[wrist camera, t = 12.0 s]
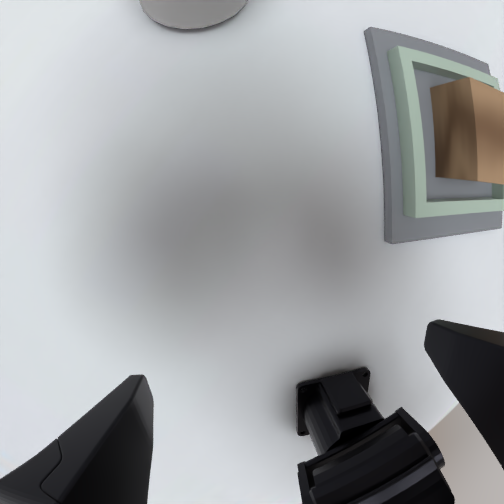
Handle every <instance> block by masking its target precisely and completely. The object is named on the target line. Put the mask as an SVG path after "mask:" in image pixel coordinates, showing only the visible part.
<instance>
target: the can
mask: <svg viewBox="0 0 504 504" xmlns="http://www.w3.org/2000/svg"><path fill="white" fill-rule="evenodd" d="M139 1H140V4H141V6H142V9H143V11H144V12H145V13H146V14H147V15H148V16H149V17H150V18H151V19H152V20H154V21H156V22H158V23H160V24H162V25H165V26H167V27H174V28H180V29H193V28H204V27H208V26H211V25H215V24H218V23H221V22H223V21H225V20H227V19H228V18H230V17H232V16H234V15H236V14H237V13H238V12H239V11H240V10H241V9H242V8H243V7H244V6H245V5H246V3H247V0H139Z"/></svg>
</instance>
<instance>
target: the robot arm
mask: <svg viewBox="0 0 504 504" xmlns="http://www.w3.org/2000/svg"><path fill="white" fill-rule="evenodd" d="M424 347H425V350H426V352H427V354H428V355H429V357H430V358H431V360H432V362H433V363H434V365H435V367H436V368H437V370H438V372H439V374H440V375H441V377H442V379H443V380H444V382H445V383H446V385H447V386H448V387H449V389H450V390H451V392H452V393H453V394H454V396H455V397H456V398H457V400H458V401H459V403H460V404H461V405H462V407H463V408H464V409H465V411H466V413H467V414H468V415H469V417H470V418H471V420H472V421H473V423H474V424H475V426H476V427H477V429H478V430H479V432H480V433H481V434H482V436H483V437H484V439H485V440H486V442H487V444H488V445H489V447H490V448H491V450H492V451H493V453H494V454H495V456H496V458H497V459H498V461H499V463H500V464H501V465H502V468H503V470H504V332H499V331H494V330H489V329H484V328H479V327H474V326H469V325H464V324H459V323H454V322H449V321H444V320H435V321H432V322H430V323H429V324H428V326H427V331H426V336H425V341H424ZM364 373H365V374H364ZM369 379H370V371H369V369H368V368H361V369H358V370H354V371H350V372H346V373H342V374H338V375H334V376H330V377H326V378H321V379H317V380H312V381H308V382H303V383H300V384H298V386H297V387H296V406H297V433H298V435H299V436H305V435H309V434H310V436H311V439H312V441H313V444H314V446H315V448H316V451H317V453H318V456H317V457H315V458H313V459H311V460H308V461H306V462H301V463H299V464H297V465H298V471H299V472H298V479H299V485H300V491H301V497H302V503H303V504H454V501H455V499H454V496H453V494H452V492H451V489H450V487H449V485H448V484H447V482H446V480H445V478H444V476H443V474H442V473H441V471H440V469H441V468H442V467H443V466H444V465H445V462H444V458H443V456H442V453H441V451H440V450H439V448H438V446H437V444H436V443H435V441H434V440H433V439H432V437H431V436H430V435H429V433H428V432H427V431H426V430H425V429H424V428H423V427H422V426H421V425H420V424H419V423H418V422H417V421H416V420H414V419H413V418H412V417H411V416H410V415H409V414H408V413H407V412H406V411H405V410H404V409H403V408H402V407H401V408H399V409H398V410H396V411H395V413H393V414H392V415H390V416H389V417H387V418H386V419H384V418H383V416H382V415H381V414H380V412H379V411H378V409H377V408H376V406H375V405H374V404H373V402H372V399H371V398H370V397H369V395H368V394H367V392H368V386H369ZM302 388H304V389H302ZM153 407H154V402H153V396H152V393H151V390H150V388H149V385H148V382H147V379H146V377H145V376H144V375H131V376H129V377H128V378H127V379H126V380H124V381H123V382H122V383H121V384H120V385H119V386H118V387H116V388H115V389H114V390H113V391H112V392H111V393H109V394H108V395H107V396H106V397H105V398H104V399H102V400H101V401H100V402H99V403H98V404H97V405H95V406H94V407H93V408H92V409H91V410H90V411H88V412H87V413H86V414H85V415H84V416H82V417H81V418H80V419H79V420H78V421H77V422H75V423H74V424H73V425H72V426H71V427H70V428H68V429H67V430H66V431H65V432H64V433H62V434H61V435H60V436H59V437H58V439H55V440H54V441H53V442H52V443H50V444H49V445H48V446H47V447H46V448H44V449H43V450H42V451H40V452H39V453H38V454H37V455H35V456H34V457H32V458H31V459H30V460H28V461H27V462H25V463H24V464H22V465H21V466H19V467H18V468H16V469H15V470H13V471H12V472H10V473H9V474H7V475H6V476H4V477H3V478H1V479H0V504H147V499H148V488H149V478H150V469H151V461H152V452H153Z"/></svg>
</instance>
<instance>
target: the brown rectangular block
mask: <svg viewBox="0 0 504 504" xmlns="http://www.w3.org/2000/svg"><path fill="white" fill-rule="evenodd" d="M430 94H431V103H432V113H433V124H434V140H435V177H440V178H450V179H460V180H469V181H478V182H487V183H495V184H502V185H504V93H503V92H501V91H499V90H497V89H495V88H493V87H491V86H489V85H487V84H484V83H482V82H480V81H478V80H475V79H473V78H471V77H467V78H463V79H459V80H456V81H452V82H448V83H445V84H441V85H438V86H434V87H431V88H430Z"/></svg>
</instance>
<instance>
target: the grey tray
mask: <svg viewBox="0 0 504 504" xmlns="http://www.w3.org/2000/svg"><path fill="white" fill-rule="evenodd" d="M364 34H365V38H366V43H367V48H368V53H369V58H370V63H371V69H372V75H373V81H374V87H375V94H376V101H377V109H378V117H379V126H380V136H381V147H382V160H383V176H384V201H385V241H386V242H388V243H390V244H396V243H404V242H411V241H418V240H425V239H432V238H439V237H446V236H453V235H460V234H466V233H473V232H480V231H487V230H493V229H500V228H502V211H504V185H502V184H495V183H487V182H478V181H469V180H460V179H450V178H440V177H435V140H434V124H433V113H432V103H431V94H430V88H431V87H434V86H438V85H441V84H445V83H448V82H452V81H456V80H459V79H463V78H467V77H471V78H473V79H475V80H478V81H480V82H482V83H484V84H487V85H489V86H491V87H493V88H495V89H497V90H499V91H500V88H499V83H498V79H497V78H495V77H493V76H491V75H490V70H489V66H488V64H487V63H484V62H482V61H480V60H477V59H475V58H473V57H470V56H468V55H465V54H463V53H460V52H457V51H455V50H452V49H449V48H446V47H444V46H441V45H438V44H435V43H432V42H428V41H425V40H422V39H418V38H415V37H411V36H408V35H404V34H400V33H396V32H392V31H388V30H383V29H379V28H374V27H369V28H368V29H367V30H365V31H364Z"/></svg>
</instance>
